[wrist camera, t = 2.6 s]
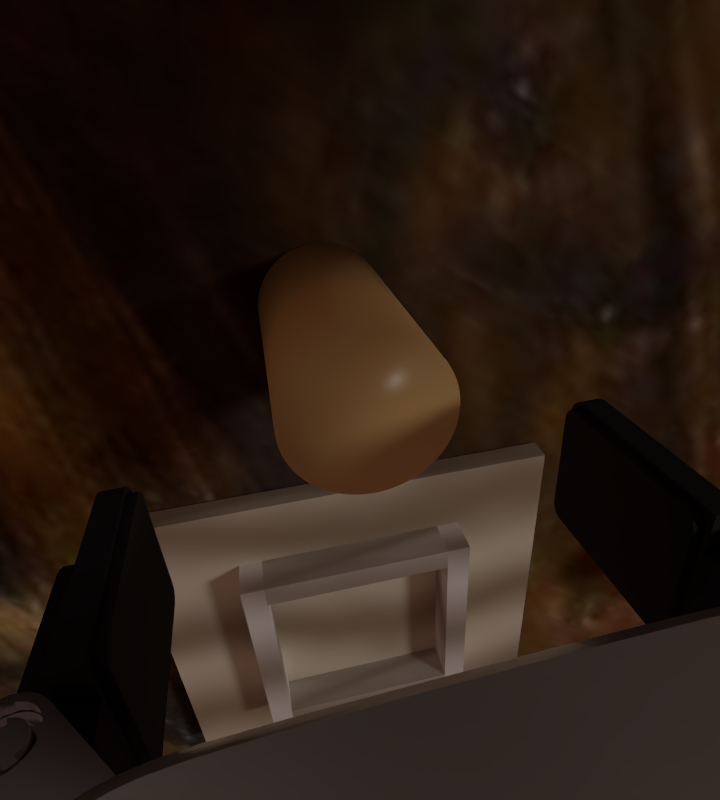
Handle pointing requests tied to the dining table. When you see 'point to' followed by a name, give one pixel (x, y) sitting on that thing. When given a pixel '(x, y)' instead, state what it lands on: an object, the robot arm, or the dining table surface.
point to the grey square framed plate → (348, 587)
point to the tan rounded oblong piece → (350, 374)
